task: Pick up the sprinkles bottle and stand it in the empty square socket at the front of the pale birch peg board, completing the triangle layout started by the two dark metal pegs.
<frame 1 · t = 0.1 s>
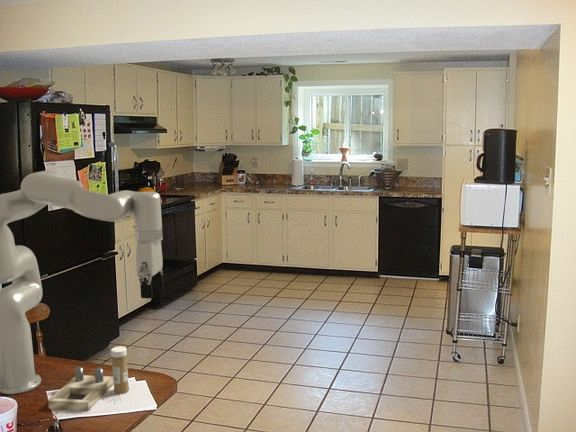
hand: (152, 292, 180), 31 cm above the table, tool pointing down, fingers open, 9 cm apart
sprinkles bottle: (121, 391, 187), on the table
peg board: (82, 395, 184), on the table
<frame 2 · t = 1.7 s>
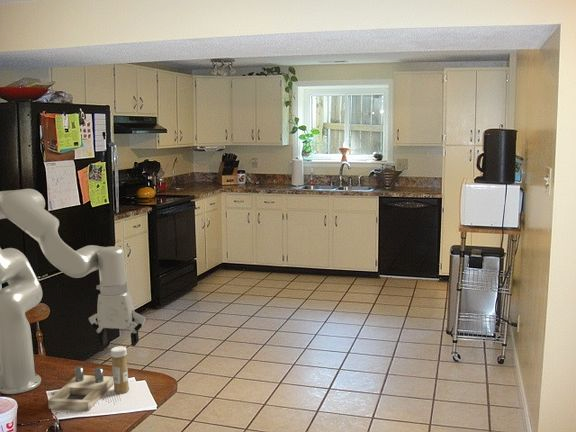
hand: (119, 344, 184), 15 cm above the table, tool pointing down, fingers open, 9 cm apart
nothing on the table moved.
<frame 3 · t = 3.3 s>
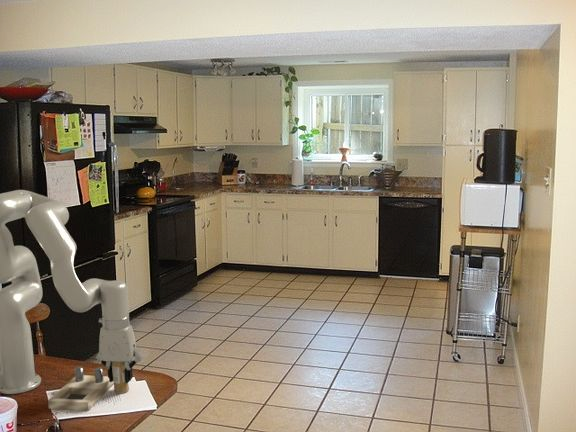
hand: (120, 379, 186), 3 cm above the table, tool pointing down, fingers closed on sprinkles bottle, 4 cm apart
sprinkles bottle: (121, 391, 187), on the table, touching gripper
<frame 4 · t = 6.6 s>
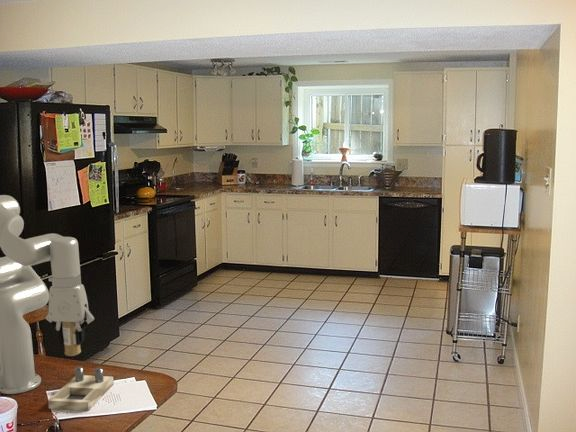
hand: (71, 342, 177), 18 cm above the table, tool pointing down, fingers closed on sprinkles bottle, 4 cm apart
sprinkles bottle: (73, 354, 178), point 15 cm above the table, touching gripper
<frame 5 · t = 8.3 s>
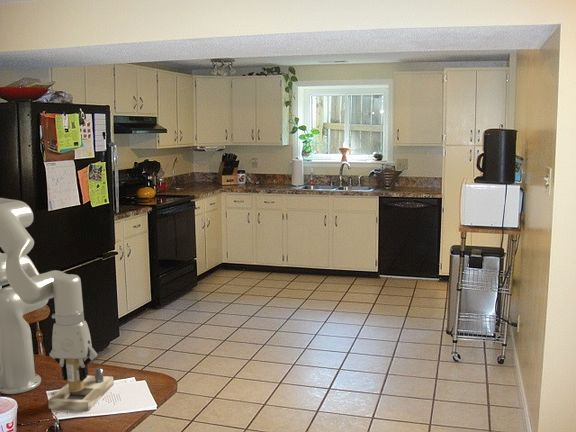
hand: (75, 377, 179), 7 cm above the table, tool pointing down, fingers closed on sprinkles bottle, 4 cm apart
sprinkles bottle: (76, 389, 180), point 4 cm above the table, touching gripper
when the fingers open (5 cm above the table, at t = 9.7 s): sprinkles bottle stays where it is, resting on peg board.
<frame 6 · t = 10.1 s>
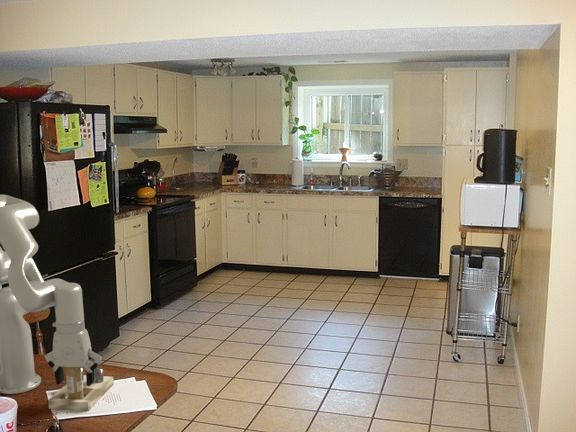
hand: (75, 383, 179), 6 cm above the table, tool pointing down, fingers open, 9 cm apart
sprinkles bottle: (76, 400, 181), resting on peg board
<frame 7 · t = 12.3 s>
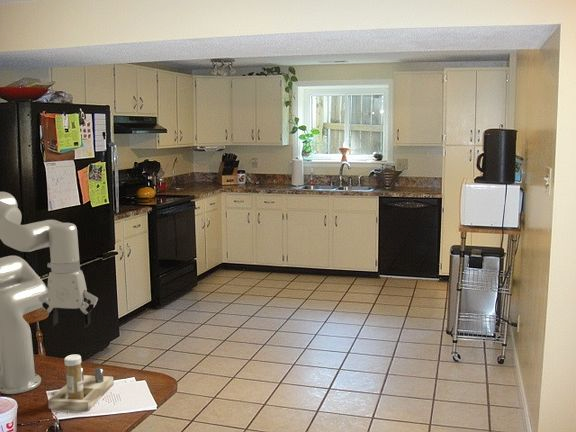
hand: (70, 325, 177), 23 cm above the table, tool pointing down, fingers open, 9 cm apart
nothing on the table moved.
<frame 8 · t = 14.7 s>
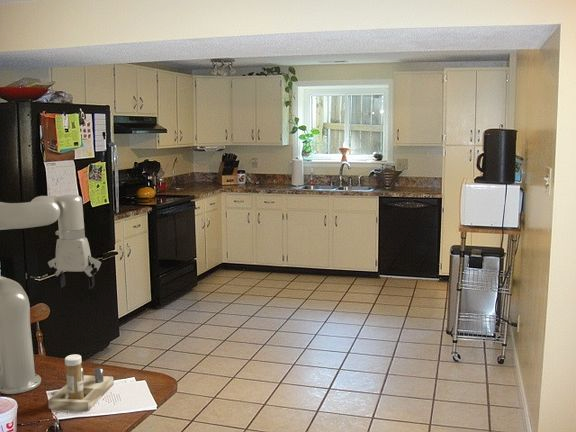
hand: (76, 287, 196), 28 cm above the table, tool pointing down, fingers open, 9 cm apart
nothing on the table moved.
at the end: sprinkles bottle 0.2 cm from the target spot on the peg board, point 0.1 cm above the peg board's base; sprinkles bottle tilted 0°; the gripper is holding nothing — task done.
